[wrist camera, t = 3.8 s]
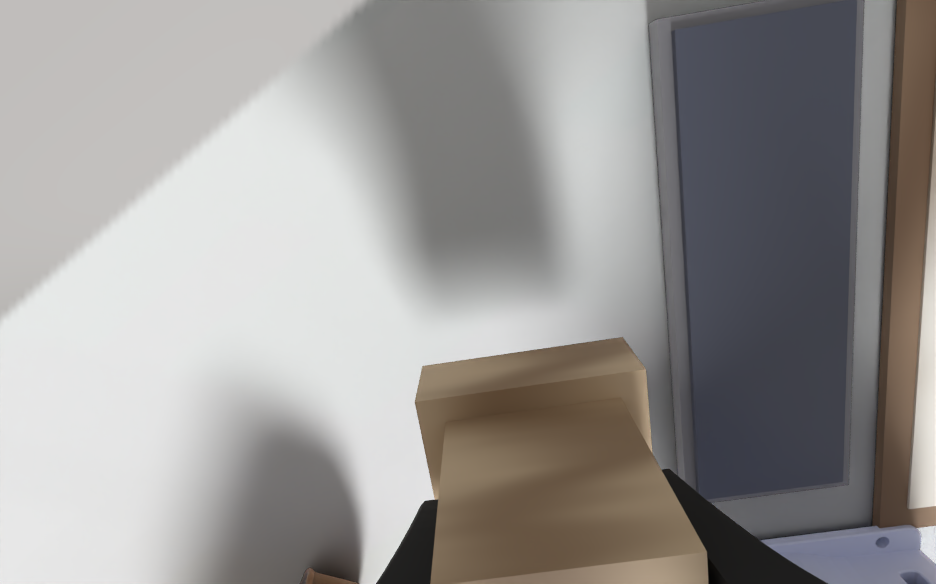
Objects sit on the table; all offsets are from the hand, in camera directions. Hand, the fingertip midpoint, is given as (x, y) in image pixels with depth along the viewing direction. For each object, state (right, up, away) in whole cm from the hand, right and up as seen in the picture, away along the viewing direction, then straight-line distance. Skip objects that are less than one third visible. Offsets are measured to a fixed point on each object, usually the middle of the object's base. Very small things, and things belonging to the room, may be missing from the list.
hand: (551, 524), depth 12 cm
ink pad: (+8, +6, +7) cm, 12 cm away
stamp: (0, +1, +3) cm, 4 cm away
